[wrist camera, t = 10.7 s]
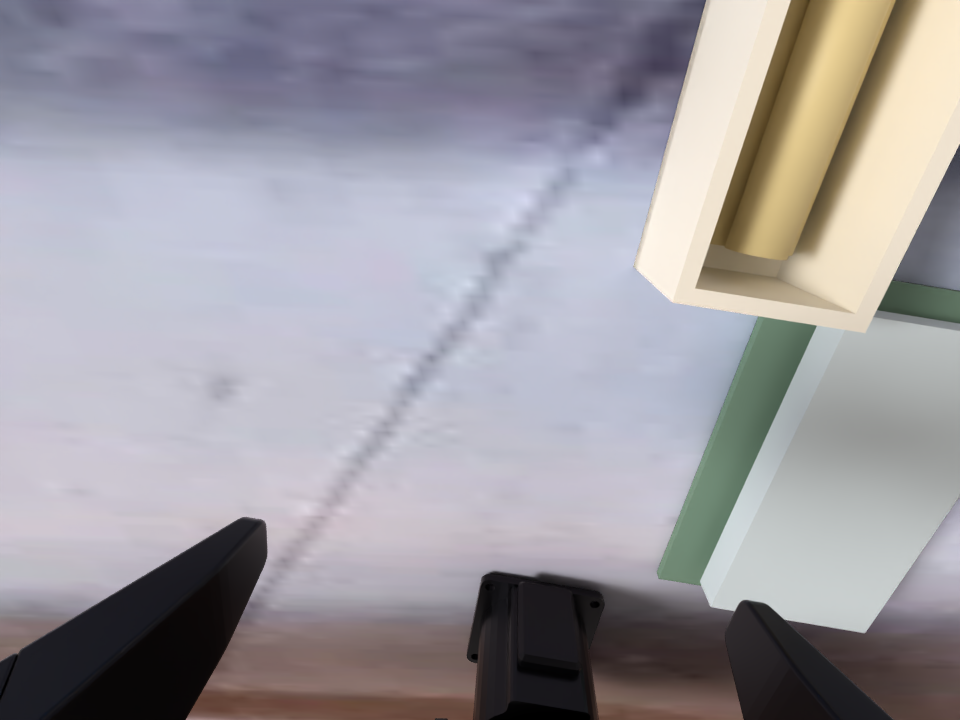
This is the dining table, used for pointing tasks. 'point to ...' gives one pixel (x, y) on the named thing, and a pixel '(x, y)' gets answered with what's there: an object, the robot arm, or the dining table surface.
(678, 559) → the felt mat
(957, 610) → the dining table surface
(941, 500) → the lid
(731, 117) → the pencil box
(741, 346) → the dining table surface
